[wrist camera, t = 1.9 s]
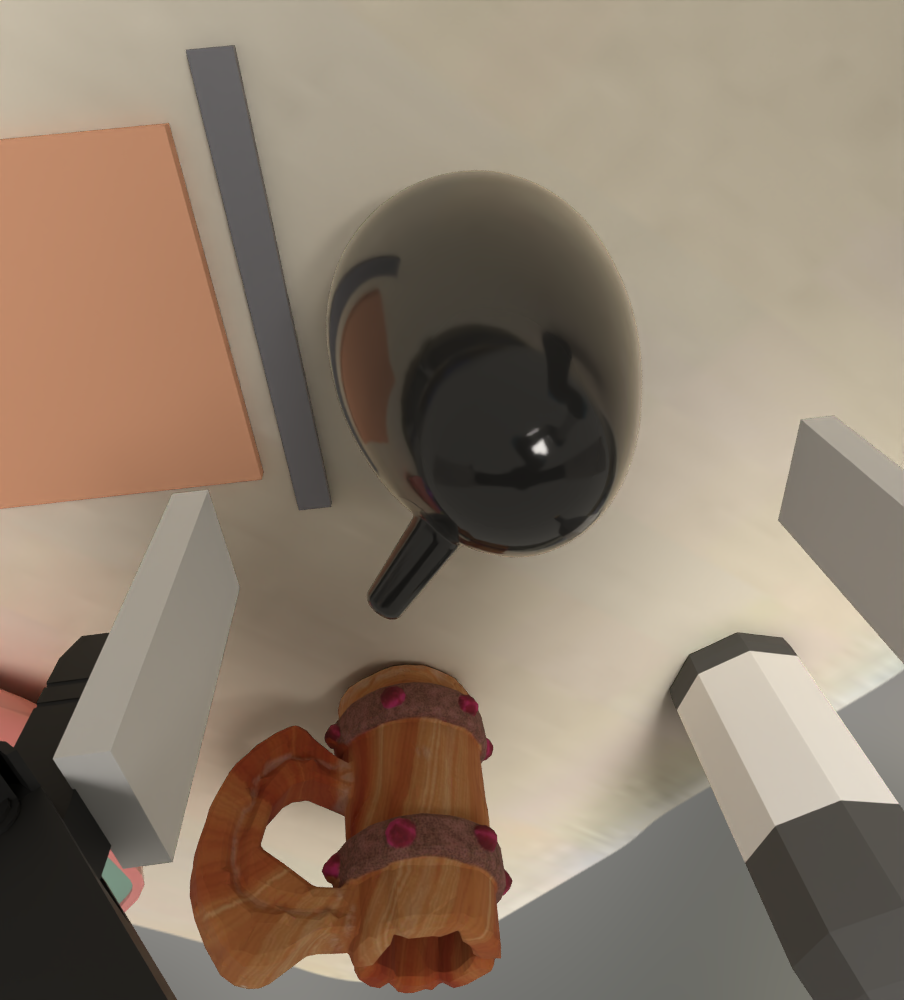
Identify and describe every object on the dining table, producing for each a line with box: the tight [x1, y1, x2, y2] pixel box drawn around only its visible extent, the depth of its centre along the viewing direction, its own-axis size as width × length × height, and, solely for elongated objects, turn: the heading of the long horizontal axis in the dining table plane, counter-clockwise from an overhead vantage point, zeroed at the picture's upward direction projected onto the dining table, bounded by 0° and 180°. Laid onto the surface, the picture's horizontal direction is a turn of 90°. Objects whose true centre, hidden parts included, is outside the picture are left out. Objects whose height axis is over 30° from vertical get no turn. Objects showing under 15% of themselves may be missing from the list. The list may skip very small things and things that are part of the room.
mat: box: [0, 123, 264, 509], centre depth 27 cm, size 13×14×1 cm
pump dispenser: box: [326, 170, 642, 619], centre depth 21 cm, size 10×10×15 cm
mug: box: [190, 665, 512, 993], centre depth 33 cm, size 15×8×15 cm, turn 70°
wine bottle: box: [670, 633, 904, 1000], centre depth 29 cm, size 8×8×30 cm
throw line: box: [186, 45, 332, 510], centre depth 27 cm, size 2×18×1 cm, turn 4°
